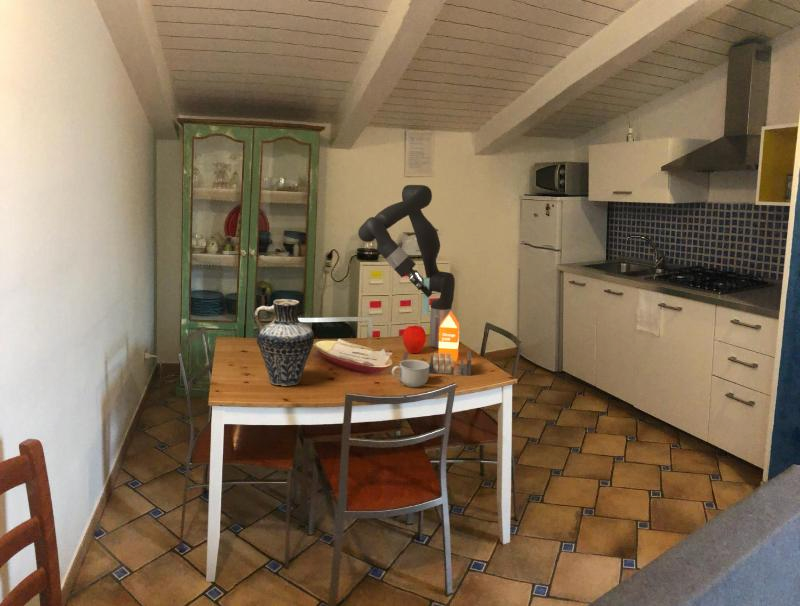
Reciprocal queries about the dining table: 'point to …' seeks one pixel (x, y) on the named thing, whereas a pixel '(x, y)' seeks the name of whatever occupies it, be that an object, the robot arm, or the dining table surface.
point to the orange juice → (449, 336)
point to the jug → (284, 342)
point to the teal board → (425, 298)
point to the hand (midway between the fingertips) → (430, 294)
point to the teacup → (412, 372)
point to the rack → (455, 369)
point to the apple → (414, 338)
